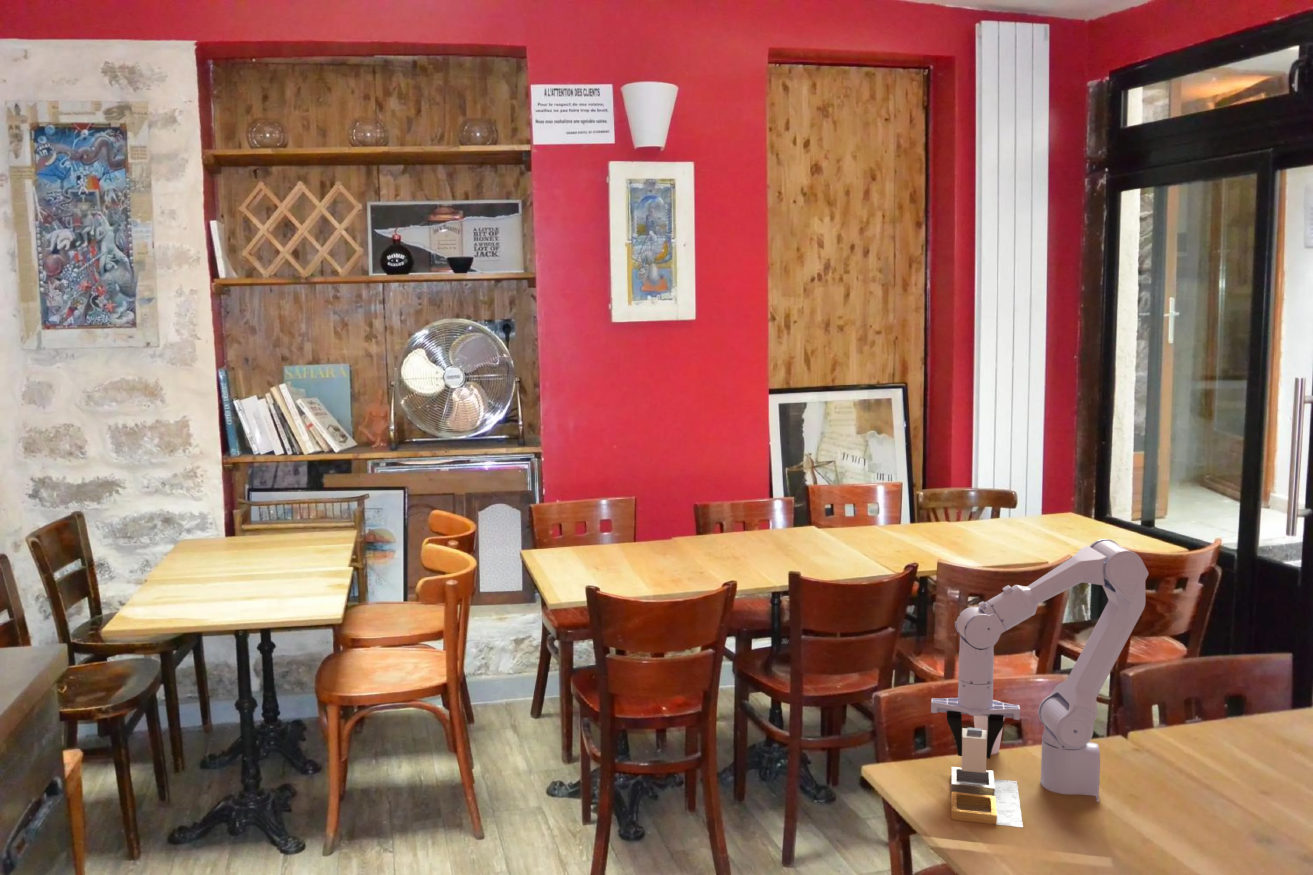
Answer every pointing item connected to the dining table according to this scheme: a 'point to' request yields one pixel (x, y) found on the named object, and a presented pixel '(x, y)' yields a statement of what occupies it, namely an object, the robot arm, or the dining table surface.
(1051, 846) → the dining table surface
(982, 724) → the smoothie
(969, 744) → the plug
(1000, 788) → the panel
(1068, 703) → the robot arm
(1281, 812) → the dining table surface
